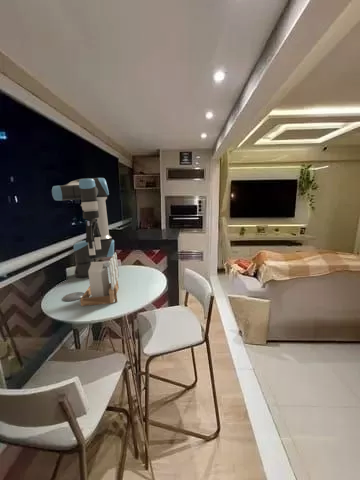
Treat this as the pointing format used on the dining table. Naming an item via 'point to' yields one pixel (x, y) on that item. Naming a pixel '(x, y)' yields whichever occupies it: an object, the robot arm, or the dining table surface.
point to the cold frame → (113, 285)
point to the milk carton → (98, 279)
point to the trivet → (73, 296)
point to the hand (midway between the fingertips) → (95, 252)
